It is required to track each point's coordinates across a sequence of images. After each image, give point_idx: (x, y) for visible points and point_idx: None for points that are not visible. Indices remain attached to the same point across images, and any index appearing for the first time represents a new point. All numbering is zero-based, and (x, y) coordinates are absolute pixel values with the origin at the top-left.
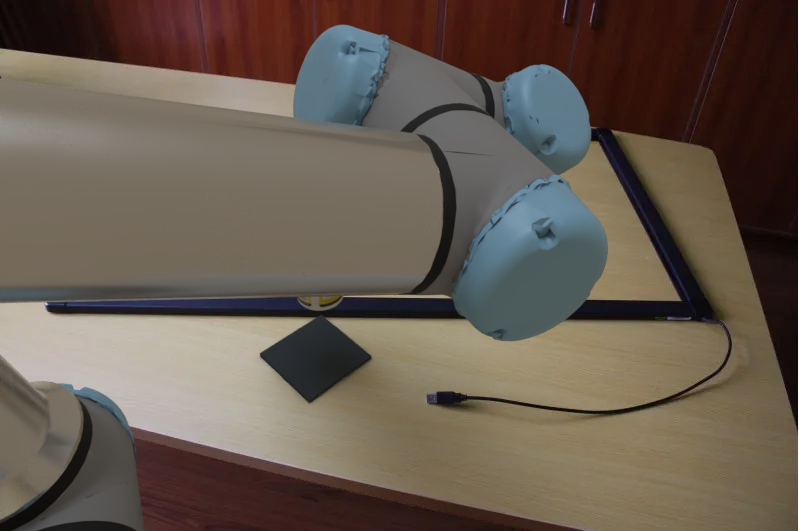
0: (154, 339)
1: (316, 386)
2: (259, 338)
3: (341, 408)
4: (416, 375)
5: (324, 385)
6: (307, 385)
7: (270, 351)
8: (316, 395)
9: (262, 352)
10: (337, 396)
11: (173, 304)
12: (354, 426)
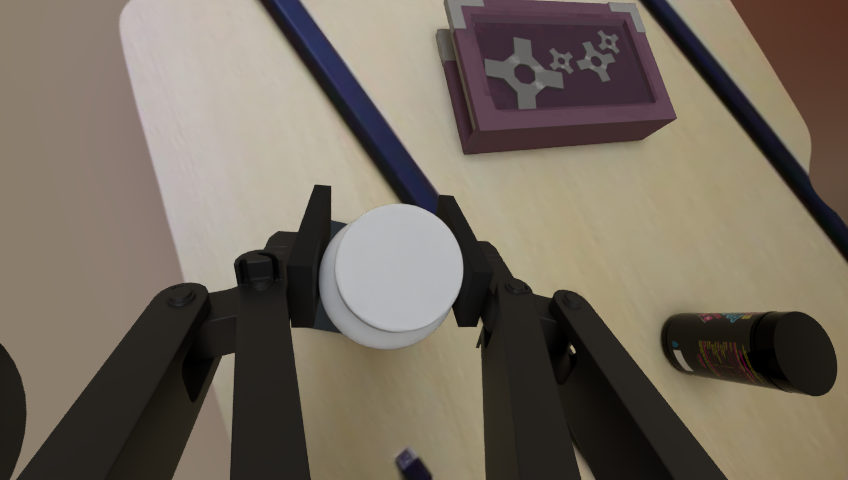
0: (277, 98)
1: (327, 318)
2: (354, 201)
3: (320, 367)
4: (424, 414)
5: (334, 326)
6: (321, 308)
7: (340, 229)
8: (315, 328)
9: (333, 222)
10: (334, 349)
11: (336, 80)
12: (305, 402)
